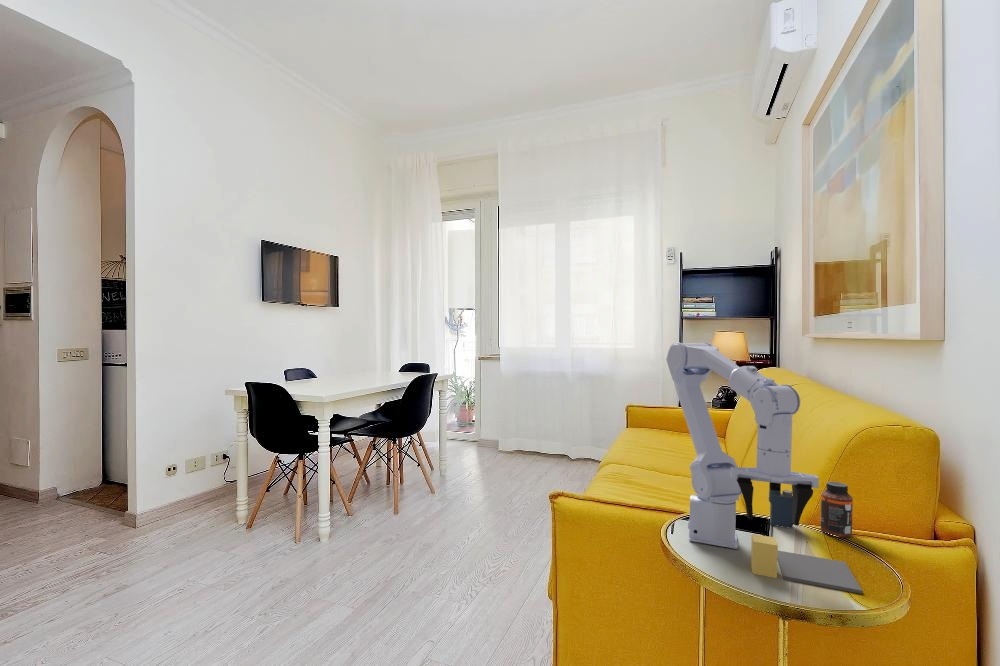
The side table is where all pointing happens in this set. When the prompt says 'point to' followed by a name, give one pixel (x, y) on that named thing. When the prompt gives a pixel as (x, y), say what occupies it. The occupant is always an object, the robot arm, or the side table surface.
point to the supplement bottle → (836, 510)
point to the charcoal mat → (817, 571)
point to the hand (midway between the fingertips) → (772, 520)
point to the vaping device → (780, 505)
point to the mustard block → (764, 555)
